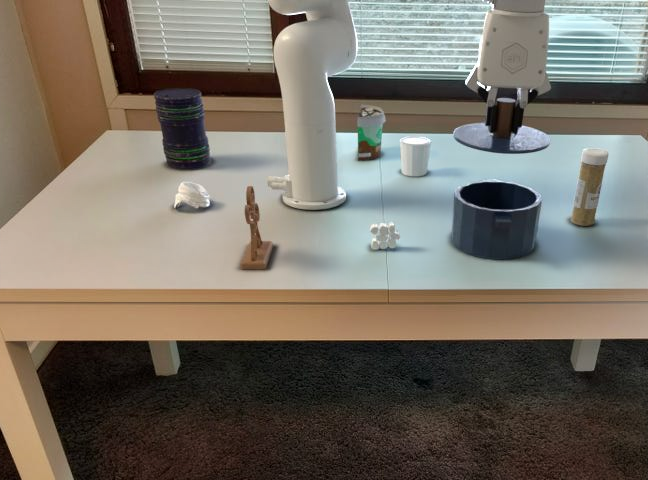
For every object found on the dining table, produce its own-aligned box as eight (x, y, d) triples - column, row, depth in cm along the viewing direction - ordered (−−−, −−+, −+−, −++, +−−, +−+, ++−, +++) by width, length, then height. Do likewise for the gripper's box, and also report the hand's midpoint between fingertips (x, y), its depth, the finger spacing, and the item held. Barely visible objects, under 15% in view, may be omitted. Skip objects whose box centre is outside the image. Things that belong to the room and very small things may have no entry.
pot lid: (455, 155, 99) (459, 110, 95) (451, 126, 111) (454, 86, 107) (557, 160, 99) (565, 115, 95) (541, 130, 111) (547, 90, 108)
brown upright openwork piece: (250, 245, 111) (242, 177, 104) (273, 246, 111) (266, 177, 104) (240, 269, 103) (231, 197, 97) (265, 269, 103) (257, 197, 97)
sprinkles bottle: (593, 228, 120) (608, 156, 113) (568, 224, 121) (581, 153, 114) (595, 219, 124) (609, 148, 116) (571, 216, 125) (583, 145, 117)
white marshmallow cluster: (370, 249, 110) (370, 225, 108) (370, 246, 112) (370, 222, 109) (399, 249, 111) (400, 225, 108) (399, 246, 112) (399, 221, 109)
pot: (454, 265, 106) (458, 216, 101) (449, 218, 123) (452, 174, 118) (543, 268, 106) (551, 219, 101) (525, 220, 123) (532, 176, 118)
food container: (384, 163, 149) (384, 118, 143) (357, 162, 149) (357, 117, 143) (386, 147, 159) (386, 104, 153) (361, 146, 159) (360, 104, 153)
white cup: (426, 178, 141) (428, 146, 137) (396, 175, 142) (396, 143, 138) (431, 168, 146) (433, 137, 142) (402, 166, 147) (402, 134, 143)
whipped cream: (179, 202, 128) (172, 178, 126) (213, 198, 129) (207, 174, 126) (173, 215, 122) (166, 189, 119) (209, 210, 122) (203, 185, 120)
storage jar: (192, 153, 151) (181, 85, 143) (220, 162, 147) (211, 92, 138) (156, 164, 145) (143, 93, 136) (185, 173, 140) (173, 101, 132)
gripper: (463, 2, 90) (452, 136, 101) (580, 7, 90) (557, 140, 101) (460, -4, 96) (450, 122, 107) (570, 1, 96) (549, 127, 107)
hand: (502, 130), depth 104 cm, fingers closed on pot lid, 3 cm apart
